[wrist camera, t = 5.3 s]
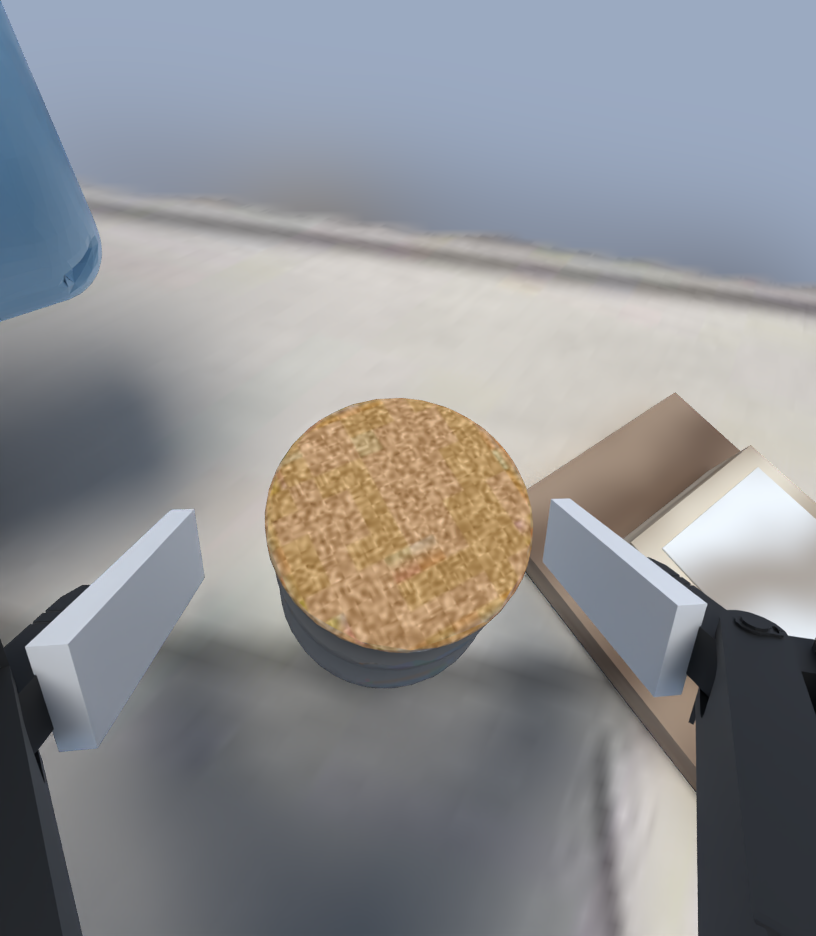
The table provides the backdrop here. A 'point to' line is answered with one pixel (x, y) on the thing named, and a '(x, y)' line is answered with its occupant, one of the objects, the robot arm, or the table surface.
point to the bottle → (395, 538)
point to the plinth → (686, 540)
